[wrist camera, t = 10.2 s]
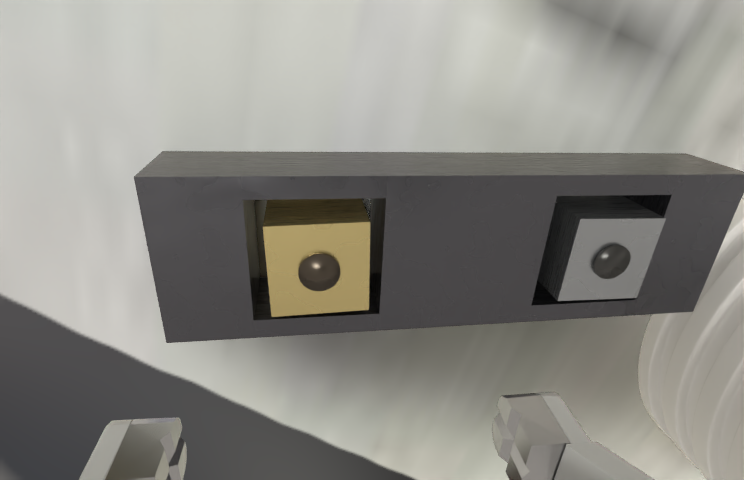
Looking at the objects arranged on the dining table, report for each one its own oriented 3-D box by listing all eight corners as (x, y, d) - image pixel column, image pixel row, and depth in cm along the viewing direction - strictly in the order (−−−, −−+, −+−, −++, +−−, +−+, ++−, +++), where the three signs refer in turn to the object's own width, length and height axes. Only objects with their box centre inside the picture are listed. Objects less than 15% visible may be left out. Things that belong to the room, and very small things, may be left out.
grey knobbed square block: (600, 184, 25) (669, 219, 20) (580, 253, 27) (639, 300, 22) (528, 184, 24) (582, 220, 20) (513, 254, 26) (559, 303, 21)
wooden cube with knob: (356, 184, 23) (371, 223, 18) (356, 259, 25) (369, 312, 20) (269, 187, 22) (262, 228, 17) (276, 264, 24) (271, 319, 19)
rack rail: (686, 153, 25) (751, 174, 21) (643, 276, 28) (693, 311, 25) (162, 151, 21) (133, 176, 17) (186, 296, 24) (166, 342, 20)
